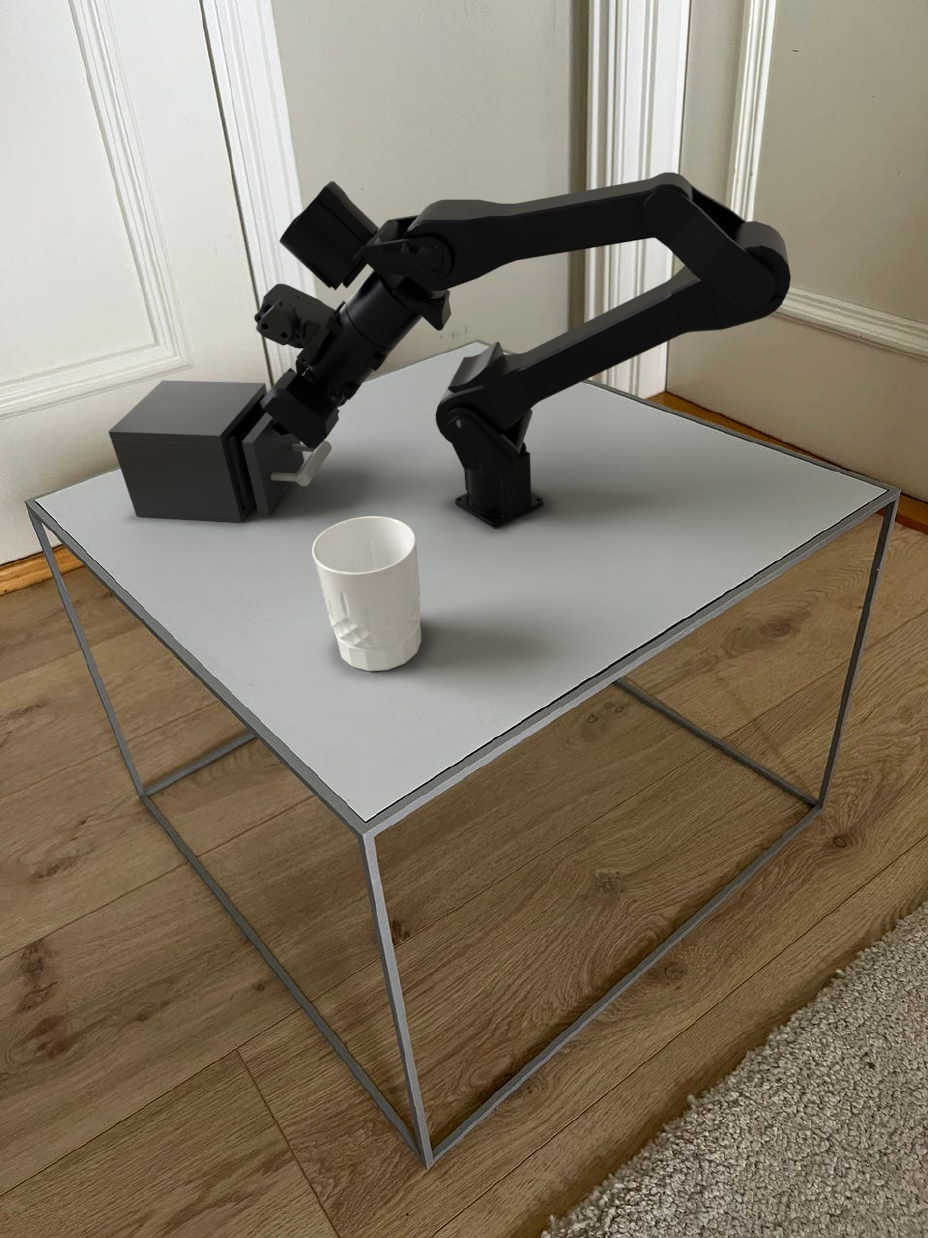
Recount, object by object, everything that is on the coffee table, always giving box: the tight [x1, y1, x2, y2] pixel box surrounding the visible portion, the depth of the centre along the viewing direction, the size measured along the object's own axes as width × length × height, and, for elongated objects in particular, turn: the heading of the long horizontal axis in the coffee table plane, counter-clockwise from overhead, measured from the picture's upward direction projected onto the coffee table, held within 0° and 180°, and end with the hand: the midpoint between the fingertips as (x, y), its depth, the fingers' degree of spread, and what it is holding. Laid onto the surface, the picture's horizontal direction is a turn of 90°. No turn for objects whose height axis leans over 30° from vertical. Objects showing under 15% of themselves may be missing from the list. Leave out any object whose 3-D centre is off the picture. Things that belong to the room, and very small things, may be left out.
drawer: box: [225, 399, 332, 514], centre depth 95 cm, size 15×10×8 cm
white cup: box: [311, 515, 422, 672], centre depth 74 cm, size 8×8×10 cm
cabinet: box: [108, 379, 268, 524], centre depth 97 cm, size 12×12×10 cm
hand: (278, 430), depth 93 cm, fingers closed, pressing on drawer
